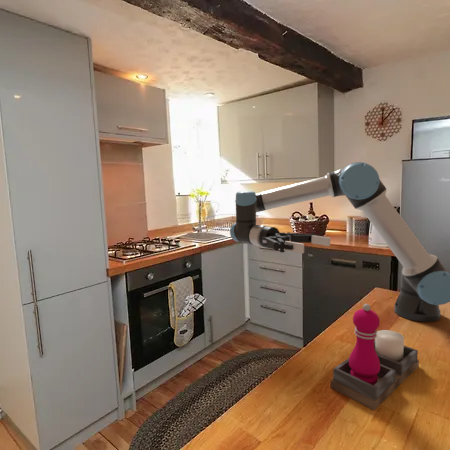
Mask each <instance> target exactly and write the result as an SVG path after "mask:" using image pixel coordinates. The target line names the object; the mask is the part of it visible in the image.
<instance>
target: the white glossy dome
mask: <svg viewBox="0 0 450 450" xmlns="http://www.w3.org/2000/svg"><path fill="white" fill-rule="evenodd" d="M374 340H375V351H376V354H379V355H381V356H384V357H387V358H389V359H392V360H394V361H397V362H399V363H400V362H401V361H402V360H403V355H404V346H405V337H404V335H402V333H400V332H398V331H394V330H390V329H382V330H381V329H380V330H377V337H376V338H375V339H374Z"/></svg>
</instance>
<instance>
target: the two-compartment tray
mask: <svg viewBox="0 0 450 450" xmlns="http://www.w3.org/2000/svg"><path fill="white" fill-rule="evenodd" d="M374 348H375V339H374ZM418 351H419V350H418V349H415V348H412V347H410V346H406V345H404V355H403V360H402V361H401V362H400V363H399V362H397V361H394V360H392V359H389V358H387V357H384V356H381V355H379V354H377V356H378V358H379V361H380V371H379V373H378V374H377V376H378V380H377V383H376V384H375V385H372V384H369V383H367V382H365V381H363V380H361V379H359V378H357V377H354V376H352V375H350V372H351V370H352V369H351V368H350V366H349V357H348V358H347V359H345V360H343V361H342V362H341V363H340V364H338V365H336V366H335V367H334V368H333V374H332V376H333V377H332V378H331V380H330V389H332V390H334V391H336V392H338V393H339V394H341V395H344V396H346V397H347V398H350V399H351V400H352V401H355V402H356V403H358V404H361V405H363V406H364V407H366V408H369V409H370V410H372V411H375V410H376V409H377V408H378V407H379V406H380V405H381V404H382V403H383V402H385V400H387V398H388V397H389V396H390V395H391V394H392V393H393V392H395V390H396V389H398V388H399V386H400V385H401V384H402V383H404V381H405V380H406V379H408V378H409V376H410V375H412V373H414V372H415V371H416V370H417V369H418V368H419V366H420V365H419V363H420V359H418V354H419V352H418Z"/></svg>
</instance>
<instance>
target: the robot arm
mask: <svg viewBox="0 0 450 450" xmlns="http://www.w3.org/2000/svg"><path fill="white" fill-rule="evenodd" d="M379 175H380V174H379V173H378V171H377V169H376V168H375V167H374V166H372V165H371V164H369V163H367V162H362V161H359V162H352V163H350V164H347V165H345V166H343V167H341V168H338V169H336V170H334V171H330V172H327V173H326V175H324V176H320V177H317V178H312V179H309V180H304V181H300V182H297V183H292V184H289V185H284V186H281V187H277V188H273V189H269V190H265V191H261V192H260V191H259V192H257V193H256V192H255V191H252V190H251V191H246V190H244V191H243V190H242V191H237V192H236V193H235V200H234V202H235V222H234V223H233V224H232V225H231V228H230V230H229V235H230V237H231V239H232V240H233V241H235V242H238V243H241V244H247V245H250V246H251V245H253V246H257V247H258V248H259V249H260V248H266V249H271V250H273V251H275V252H276V251H279V252H280V253H284V252H285V251H289V252H292V253H293V252H294V253H299V254H305V243H306V244H307V243H311V244H312V245H318V246H325V247H331V237H328V236H320V235H316V233H314V232H311V233H299V232H297V233H296V232H280V230H279V228H278V227H276V226H269V225H261V224H257V213H260V212H264V211H267V210H268V211H269V210H273V209H275V208H276V209H277V208H280V207H281V208H282V207H285V206H289V205H295V204H298V203H302V202H307V201H310V200H316V199H320V198H323V197H324V198H325V197H332V198H336V197H342V196H345V198H347V200H348V201H349V203H351V206H352V207H353V208H354V209H355V210H360V211H362V212H363V214H364V215H365V216H366V218H367V219H368V220H369V222H370V223H371V224H372V226H373V227H374V228H375V230H376V231H377V233H378V235H379V236H381V238H382V240H383V241H384V242H385V244H386V245H387V247H388V248H389V249H390V250H391V252H392V253H393V254H394V256H395V257H396V259H397V260H398V262H399V263H400V264H401V272H400V274H401V275H400V292H399V294H398V296H397V299H396V301H395V303H394V309H393V310H394V313H395V314H396V315H398V316H399V317H402V318H405V319H407V320H410V321H411V320H412V321H416V322H422V323H431V322H436V321H439V320H440V319H441V310H440V306H442V305H446V304H448V303H450V272H449V271H448V270H447V269H446V268H445V266H444V265H443V264H442V262H441V261H440V258H439V257H438V256H437V255H434V254H431V253H428V252H427V250H426V249H425V248H424V247H423V245H422V243H421V242H420V240H419V239H418V238H417V237H416V235H415V234H414V233H413V231H412V229H410V227H409V225H408V224H407V223H406V221H405V220H404V218H402V216H401V215H400V214H399V212H398V211H397V209H396V208H395V206H394V205H393V204H392V202H391V201H390V200H389V198H388V197H387V195H386V194H387V188H386V186H385V184H384V183H383V182H382V180H381V178H380V176H379Z"/></svg>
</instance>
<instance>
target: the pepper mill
mask: <svg viewBox="0 0 450 450" xmlns="http://www.w3.org/2000/svg"><path fill="white" fill-rule="evenodd" d="M352 322H353V324H354V326H355V327H354V335H355V336H356V343H355V344H354V345H355V346H354V348H353V349H352V351H351V353H350V355H349V357H348V358H349V366H350V368H351V369H352V370H351V372H350V375H352V376H354V377H357V378H359V379H361V380H363V381H365V382H367V383H369V384H372V385H375V384H376V383H377V380H378V376H377V374H378V373H379V371H380V361H379V358H378V356H377V354H376V351H375V348H374V340H375V338H376V337H377V331H378V329H379V326H380V323H381V322H380V317H379V315H378V314H377V313H376V312H375V311H374V310H372V309H371V306H370V304H369V303H364V304H363V305H362V308H360V309H357V310H356V311H355V313H353V316H352Z"/></svg>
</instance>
